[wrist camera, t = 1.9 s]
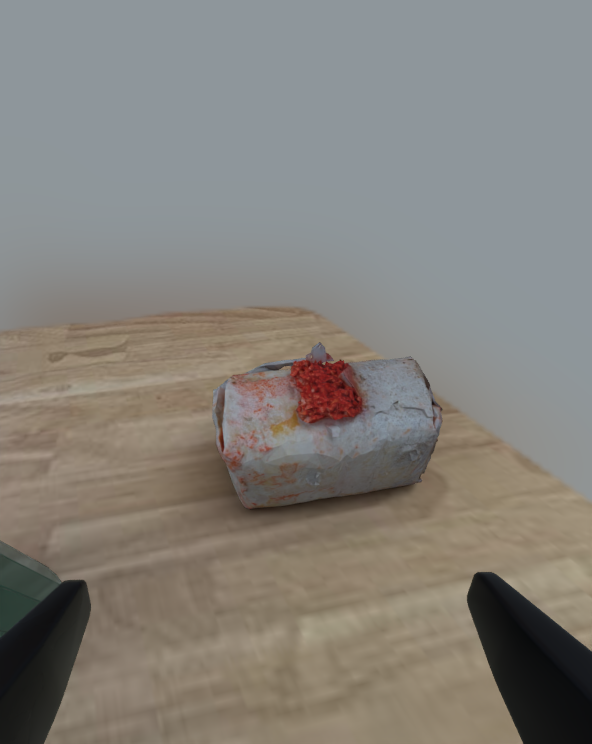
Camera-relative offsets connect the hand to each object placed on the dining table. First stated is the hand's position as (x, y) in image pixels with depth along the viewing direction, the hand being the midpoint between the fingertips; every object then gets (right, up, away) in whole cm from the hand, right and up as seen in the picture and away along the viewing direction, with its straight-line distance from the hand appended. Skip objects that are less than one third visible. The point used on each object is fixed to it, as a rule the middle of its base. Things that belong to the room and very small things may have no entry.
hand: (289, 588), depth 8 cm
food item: (+2, -2, +19) cm, 19 cm away
